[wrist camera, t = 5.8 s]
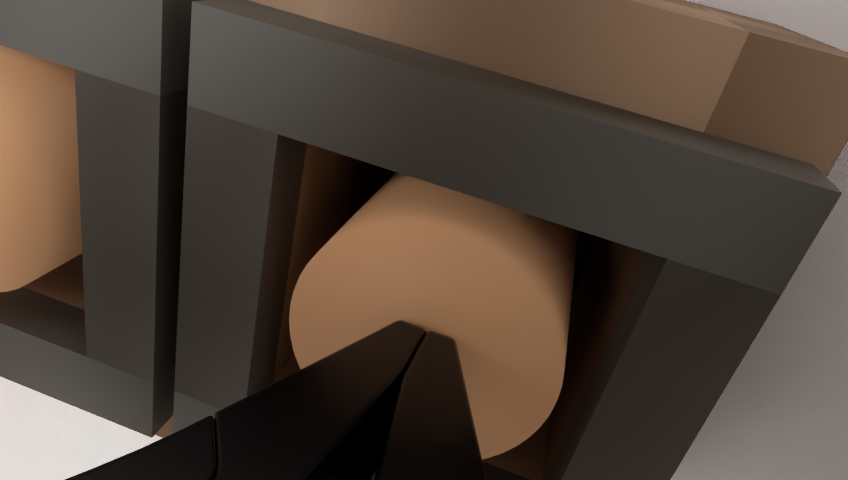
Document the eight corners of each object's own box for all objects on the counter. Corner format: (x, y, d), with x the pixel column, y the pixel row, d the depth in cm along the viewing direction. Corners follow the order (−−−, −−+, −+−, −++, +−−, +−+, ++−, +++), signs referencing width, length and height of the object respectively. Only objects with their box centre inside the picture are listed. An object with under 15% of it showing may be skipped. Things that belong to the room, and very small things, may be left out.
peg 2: (608, 146, 13) (609, 280, 7) (547, 303, 15) (514, 499, 9) (426, 92, 13) (308, 180, 8) (390, 250, 15) (275, 406, 10)
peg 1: (258, 41, 14) (45, 94, 9) (243, 200, 16) (60, 323, 10) (103, -5, 14) (-188, 17, 9) (107, 153, 16) (-134, 249, 11)
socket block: (776, 24, 11) (931, 85, 6) (585, 424, 16) (576, 659, 10) (20, -175, 13) (-369, -262, 8) (48, 228, 18) (-186, 343, 13)
